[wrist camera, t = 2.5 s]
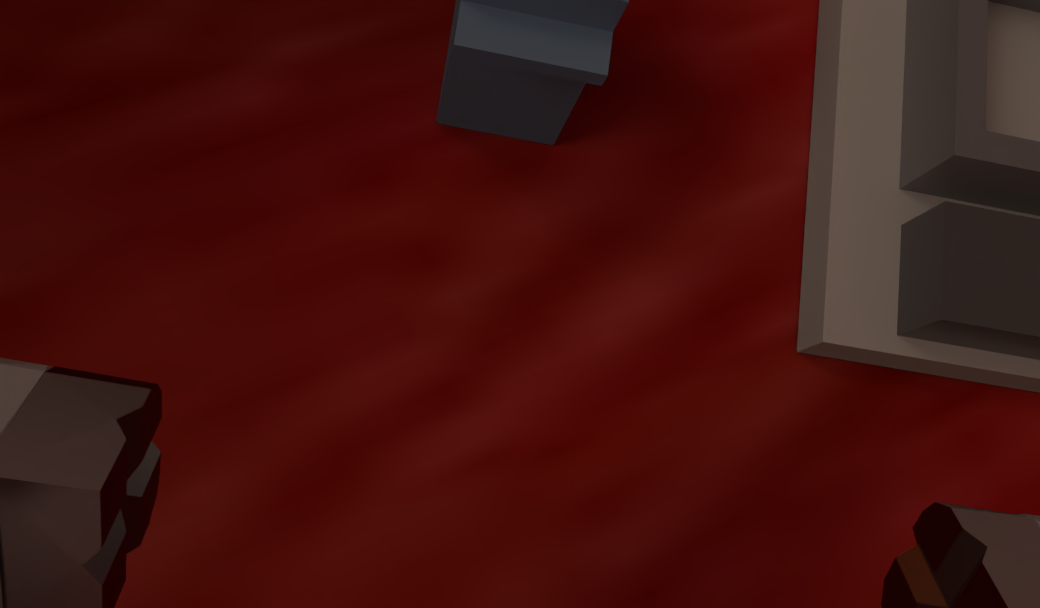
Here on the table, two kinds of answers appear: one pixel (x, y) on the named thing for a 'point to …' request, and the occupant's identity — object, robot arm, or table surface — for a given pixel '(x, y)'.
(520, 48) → the block
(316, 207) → the table surface
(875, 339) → the chassis
